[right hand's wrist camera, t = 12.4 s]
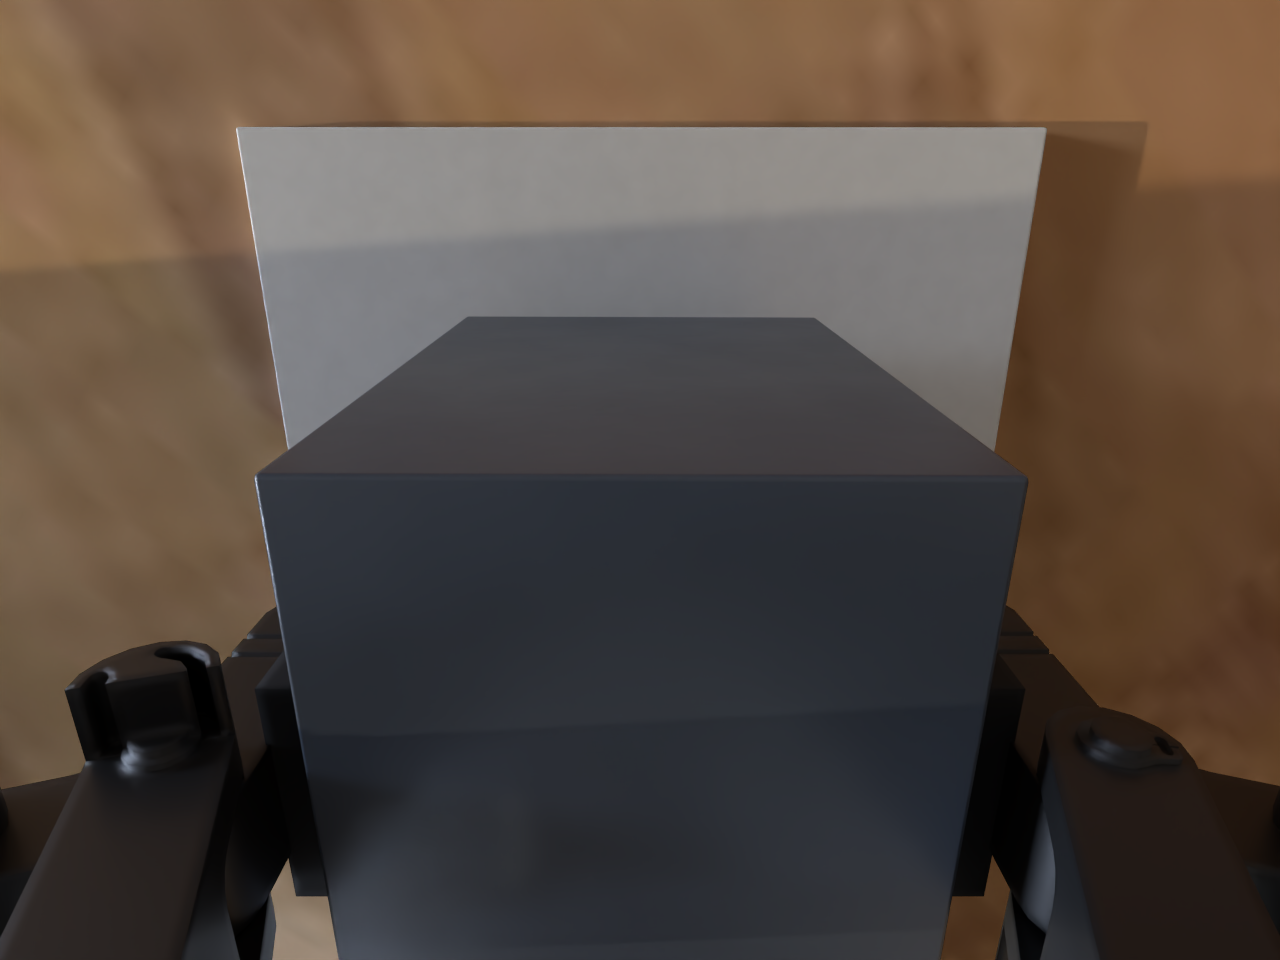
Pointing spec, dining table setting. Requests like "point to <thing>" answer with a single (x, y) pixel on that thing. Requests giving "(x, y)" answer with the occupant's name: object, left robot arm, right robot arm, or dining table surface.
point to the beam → (640, 644)
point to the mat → (642, 242)
